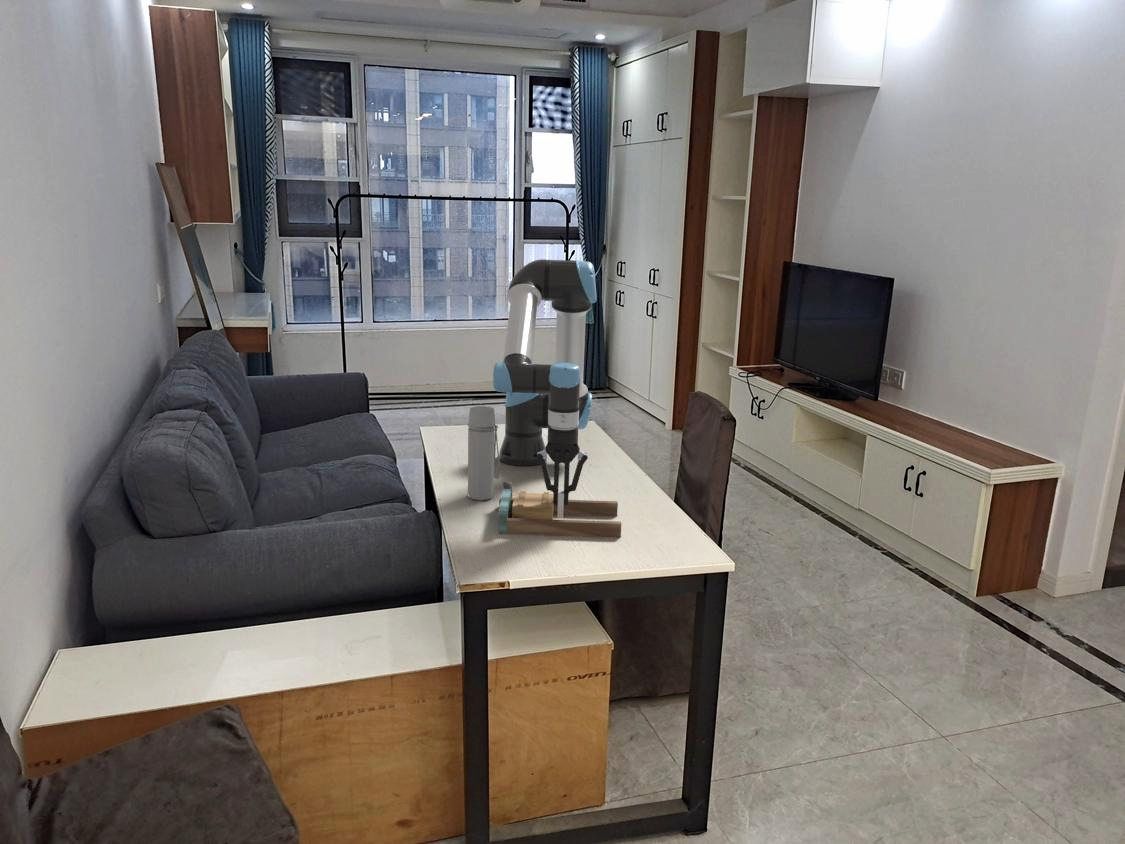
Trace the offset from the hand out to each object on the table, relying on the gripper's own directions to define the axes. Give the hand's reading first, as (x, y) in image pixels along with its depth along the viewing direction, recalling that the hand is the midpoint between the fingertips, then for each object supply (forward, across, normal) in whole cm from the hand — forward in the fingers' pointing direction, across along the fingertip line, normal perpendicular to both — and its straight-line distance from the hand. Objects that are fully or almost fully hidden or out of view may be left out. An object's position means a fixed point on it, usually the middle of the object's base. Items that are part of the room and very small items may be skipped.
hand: (560, 516), depth 211 cm
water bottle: (+2, -21, +18) cm, 28 cm away
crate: (+2, -7, +1) cm, 7 cm away
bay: (+2, -1, +2) cm, 3 cm away
